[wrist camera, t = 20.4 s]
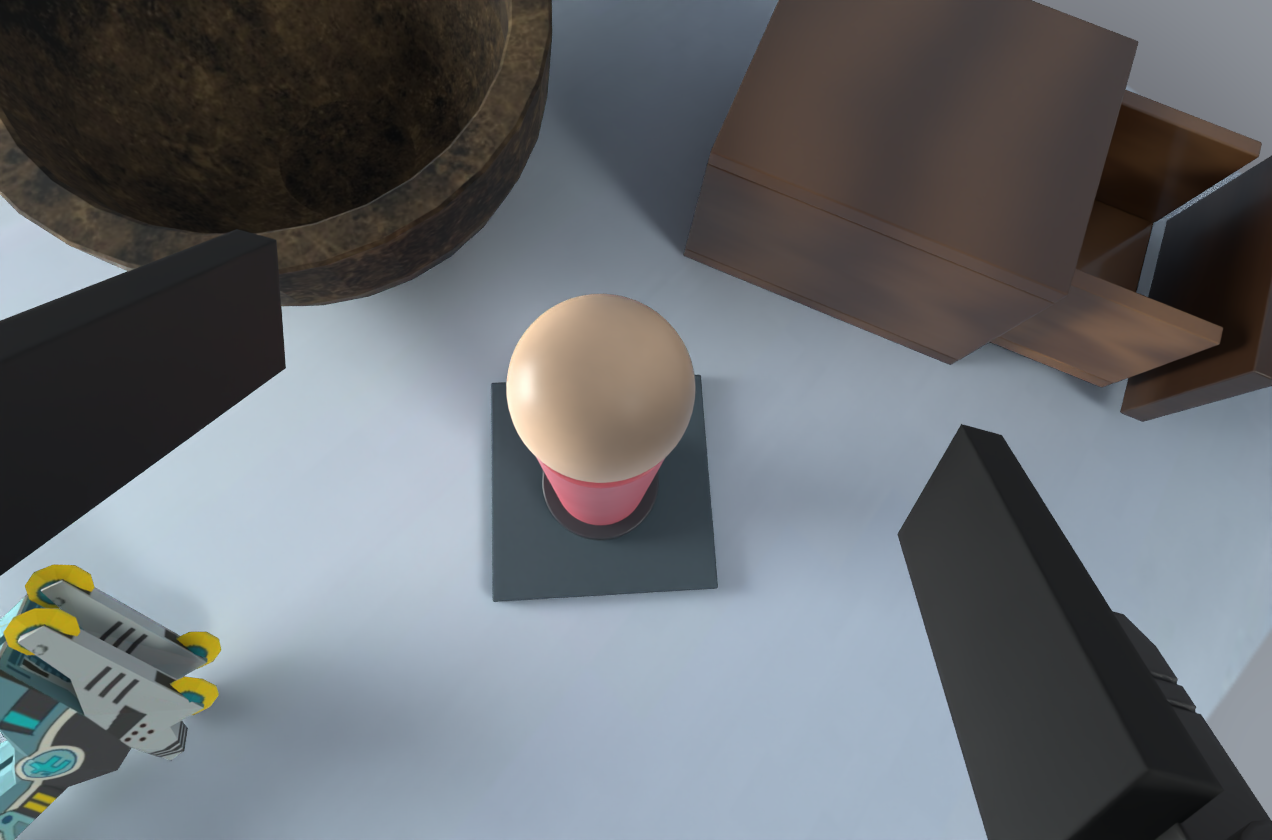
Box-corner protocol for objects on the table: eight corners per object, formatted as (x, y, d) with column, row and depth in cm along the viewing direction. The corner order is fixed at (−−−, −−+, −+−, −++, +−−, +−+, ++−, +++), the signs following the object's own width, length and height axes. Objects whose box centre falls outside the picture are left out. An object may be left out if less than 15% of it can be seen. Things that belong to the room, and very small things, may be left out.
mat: (715, 587, 30) (718, 588, 29) (494, 601, 29) (492, 602, 29) (698, 378, 32) (700, 374, 32) (492, 386, 32) (490, 382, 31)
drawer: (1259, 256, 34) (1415, 182, 28) (1218, 453, 32) (1381, 422, 25) (947, 133, 35) (1027, 32, 29) (883, 316, 33) (955, 251, 26)
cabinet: (1014, 164, 36) (1139, 40, 28) (950, 365, 33) (1069, 295, 25) (766, 66, 37) (816, -84, 28) (682, 255, 34) (710, 151, 25)
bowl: (37, 249, 32) (-210, 107, 22) (286, -67, 37) (174, -296, 27) (433, 445, 31) (356, 387, 21) (635, 93, 36) (649, -86, 26)
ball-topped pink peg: (674, 454, 31) (772, 297, 13) (630, 558, 30) (675, 538, 12) (572, 410, 31) (536, 199, 13) (524, 512, 30) (417, 426, 12)
